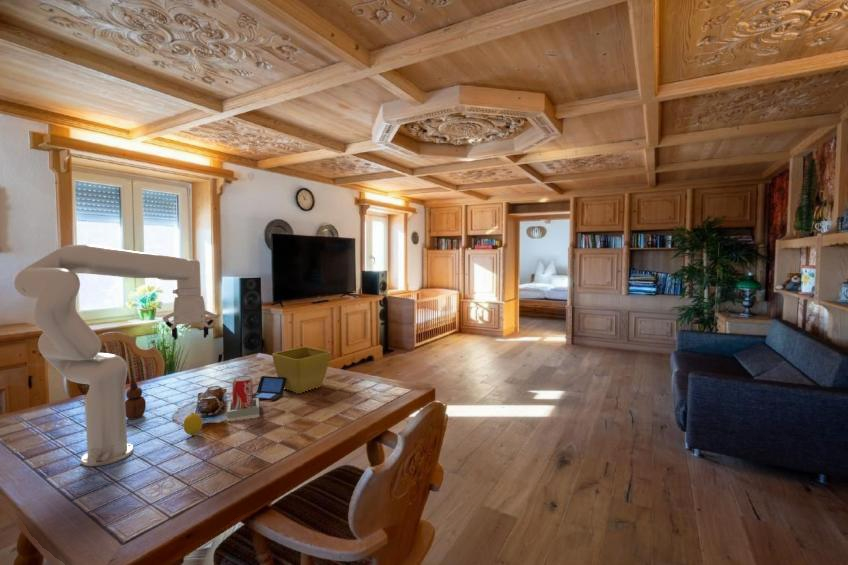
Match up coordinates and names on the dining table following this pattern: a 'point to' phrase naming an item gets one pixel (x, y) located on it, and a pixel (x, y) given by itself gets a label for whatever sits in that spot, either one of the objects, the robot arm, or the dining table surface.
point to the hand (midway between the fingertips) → (190, 338)
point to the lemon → (192, 424)
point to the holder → (243, 411)
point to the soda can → (242, 392)
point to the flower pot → (302, 367)
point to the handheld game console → (270, 388)
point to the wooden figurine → (134, 402)
